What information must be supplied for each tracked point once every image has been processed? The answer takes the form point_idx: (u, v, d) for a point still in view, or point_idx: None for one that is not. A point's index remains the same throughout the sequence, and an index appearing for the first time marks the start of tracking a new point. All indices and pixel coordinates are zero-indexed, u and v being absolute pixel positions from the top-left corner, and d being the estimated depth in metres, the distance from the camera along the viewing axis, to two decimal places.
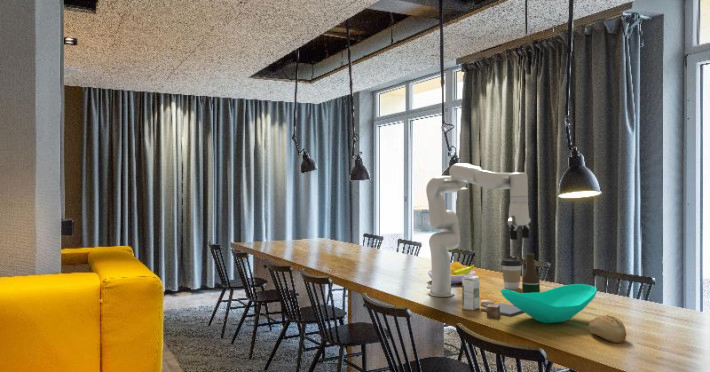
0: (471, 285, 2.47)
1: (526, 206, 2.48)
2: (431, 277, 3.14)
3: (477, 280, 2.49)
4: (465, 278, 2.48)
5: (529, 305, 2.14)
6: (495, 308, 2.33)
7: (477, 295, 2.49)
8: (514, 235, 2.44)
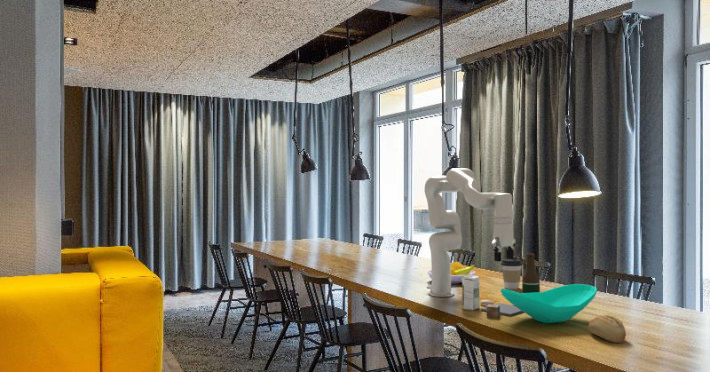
0: (471, 285, 2.47)
1: (510, 227, 2.44)
2: (431, 277, 3.14)
3: (477, 280, 2.49)
4: (465, 278, 2.48)
5: (529, 305, 2.14)
6: (495, 308, 2.33)
7: (477, 295, 2.49)
8: (498, 257, 2.41)
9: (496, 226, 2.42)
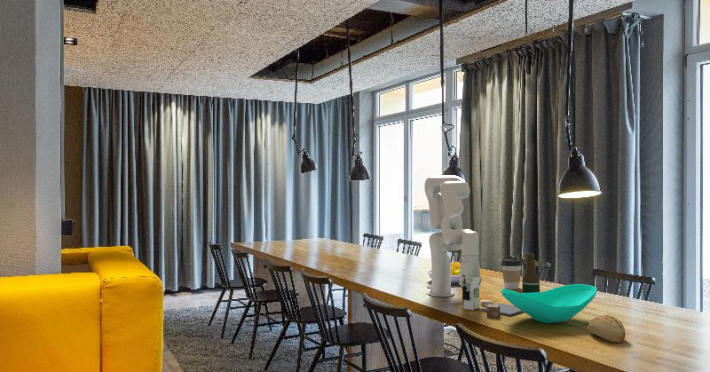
0: (471, 285, 2.47)
1: (477, 264, 2.49)
2: (431, 277, 3.14)
3: (477, 280, 2.49)
4: None
5: (529, 305, 2.14)
6: (495, 308, 2.33)
7: (477, 295, 2.49)
8: (466, 296, 2.47)
9: (463, 264, 2.47)
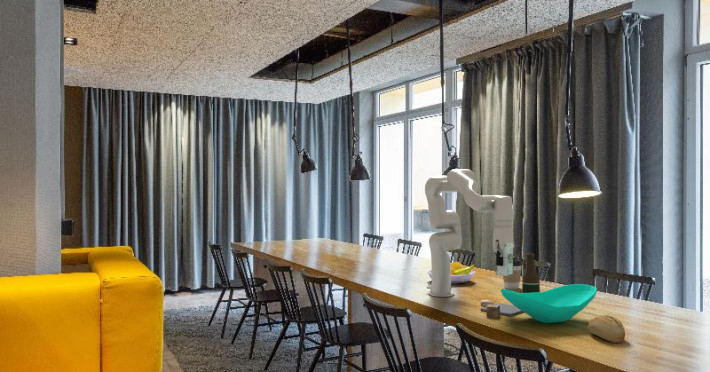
0: (505, 250, 2.42)
1: (511, 230, 2.44)
2: (431, 277, 3.14)
3: (511, 245, 2.44)
4: None
5: (529, 305, 2.14)
6: (495, 308, 2.33)
7: (511, 261, 2.44)
8: (500, 261, 2.42)
9: (496, 229, 2.42)
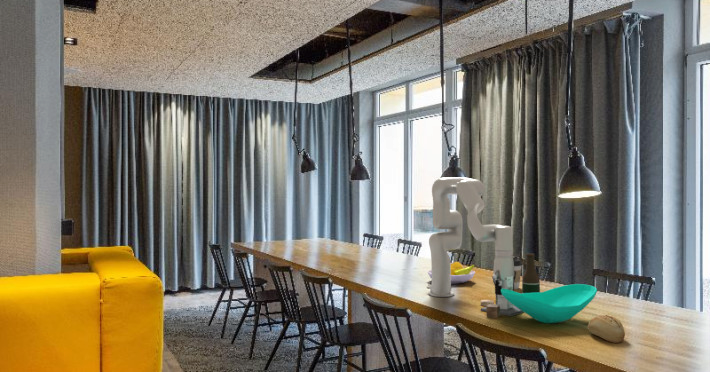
0: (505, 284, 2.42)
1: (511, 260, 2.44)
2: (431, 277, 3.14)
3: (511, 279, 2.44)
4: None
5: (529, 305, 2.14)
6: (495, 308, 2.33)
7: None
8: (499, 290, 2.41)
9: (497, 259, 2.42)
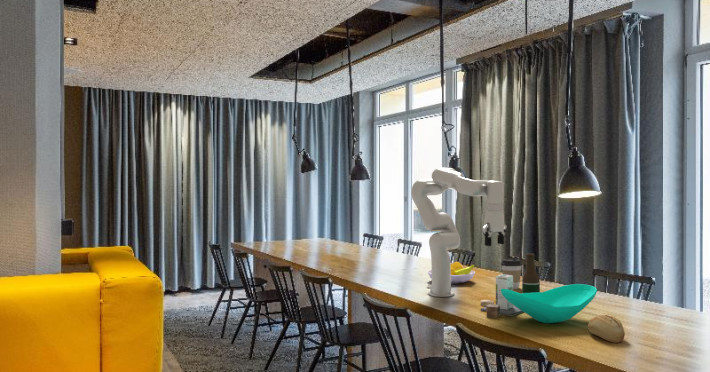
0: (505, 284, 2.42)
1: (501, 213, 2.56)
2: (431, 277, 3.14)
3: (511, 279, 2.44)
4: (499, 277, 2.44)
5: (529, 305, 2.14)
6: (495, 308, 2.33)
7: None
8: (488, 241, 2.52)
9: (487, 212, 2.53)
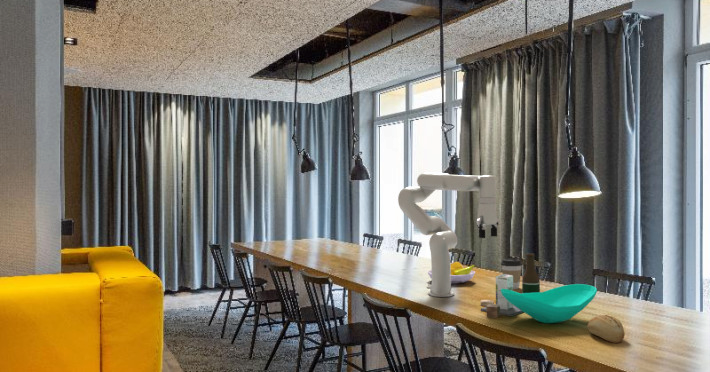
0: (505, 284, 2.42)
1: (494, 207, 2.66)
2: (431, 277, 3.14)
3: (511, 279, 2.44)
4: (499, 277, 2.44)
5: (529, 305, 2.14)
6: (495, 308, 2.33)
7: None
8: (482, 234, 2.62)
9: (480, 206, 2.63)
